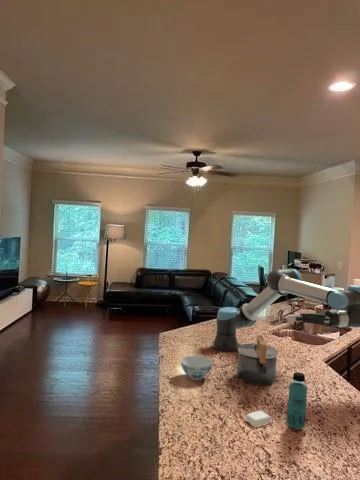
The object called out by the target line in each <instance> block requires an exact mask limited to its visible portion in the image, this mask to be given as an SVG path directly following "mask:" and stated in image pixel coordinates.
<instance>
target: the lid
mask: <svg viewBox="0 0 360 480" xmlns="http://www.w3.org/2000/svg"><path fill="white" fill-rule="evenodd" d="M237 353H238V354H239V353H240V354H242V355H244V356H247V357H252V358H258V359H259V362H260V363H265V364H266V359H271V358H275V357H278V356H279V351H278V349H276V348H275V347H273V346H269V345H267V343H266V341H265V339H264V337H263V335H258V334H257V335H256V343H244V344H243V343H242V344H240V345H238V350H237Z"/></svg>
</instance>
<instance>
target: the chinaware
mask: <svg viewBox="0 0 360 480" xmlns="http://www.w3.org/2000/svg"><path fill="white" fill-rule="evenodd" d="M180 365H181V367H182V371H183V372H184V373H185V374H186V375H187V376H188V378H189V379H190V380H192V381H200V380H203V379H204V377H205V376H207V375H208V374H209V373H210V371H211V369H212V367H213V360H212V359H210V358H208V357H205V356H199V355H191V356H190V355H188V356H184V357H182V358H181V359H180Z"/></svg>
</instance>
